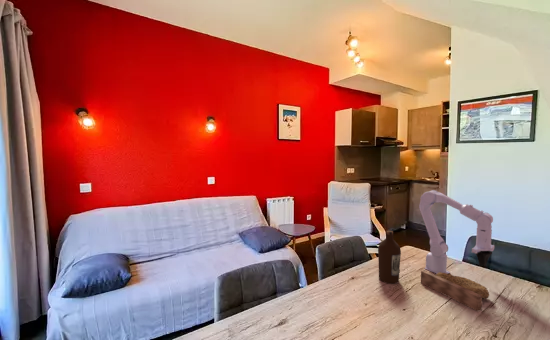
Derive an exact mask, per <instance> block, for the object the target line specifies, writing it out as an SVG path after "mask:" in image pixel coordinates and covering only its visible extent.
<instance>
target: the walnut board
mask: <svg viewBox="0 0 550 340" xmlns="http://www.w3.org/2000/svg"><path fill="white" fill-rule="evenodd" d="M420 284H422V285H424V286H427V287H428V288H430V289H432V290H434V291H436V292H438V293H441V294H442V295H445V296H446V297H449V298H450V299H453V300H454V301H457V302H459V303H461V304H462V305H465V306H466V307H469V308H471V309H472V310H475V311H477V312H480V311H482V307H483V298H482V295H479V294H477V293H475V292H473V291H470V290H468V289H466V288H464V287H461V286H459V285H457V284H454V283H452V282H450V281H448V280H445V279H443V278H441V277H439V276H436V275H435V273H434V274H433V272H431V271H428V270H426V269H424V270H421V271H420Z"/></svg>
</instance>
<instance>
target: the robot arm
mask: <svg viewBox="0 0 550 340" xmlns="http://www.w3.org/2000/svg"><path fill="white" fill-rule="evenodd" d="M419 199H420V201H419V205H418V208H419V210H420V211H419V212H420V214H421V216H422V220H423V222H424V225H425V226H424V227H425V228H426V231H427V235H428V237H429V245H430V246H429V247H430V249H429V250H430V252H428V253H426V256H425V267H424V270H426V271H428V272H430V273H434V274H438V273H439V272H442V273H446V274H451V271H448V270H447V269H448V268H447V267H448V265H447V263H448V255H447V252H448V251H449V246H448V244H447V243H446V242H445V240H444V238H443V237H442V236H441V234H440V231H439V228H438V225H437V222H436V220H435V217H434V214H433V212H432V209H431V208H432V207H433V206H434V204H435V203H436V204H437V203H443V204H446V205H447V206H449V207H452V208H454V209H456V210H458V211H459V213H460V214H461V215H462V216H464V217H466V218H468V219H469V220H471V221H474V222H475V223H476V225H477V226H476V238H475V239H476V240H475V245H474V247H472V248H471V253H472V254H475V256H476V257H477V260H478V264H479V266H482V267H486V265H487V264H488V260H489V259H490V256H492V255H493V252H494V250H495V244H492V231H493V230H492V223H494V217H493V216H492V215H491V214H490V213H488V212H485V211H483V210H479V209H477V208H476V207H474V206H473V204H468V203H467V204H462V203H460V202H458V201H457V200H455V199H453V198H451V197H450V196H447V195H446V194H444V193H442V192H440V191H438V190H435V189H432V190H429V191H425V192H423V193H422V194H421V196H420V198H419Z"/></svg>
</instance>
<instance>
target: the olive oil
mask: <svg viewBox="0 0 550 340" xmlns="http://www.w3.org/2000/svg"><path fill="white" fill-rule="evenodd" d="M377 253H378V255H377V256H378V259H377V260H378V261H377V262H378V279H379V280H380V281H381V282H383V283H386V284H389V285H390V284H398V283H399V280H400V274H401V273H400V272H401V270H400V267H401V257H402V256H401V255H402V251H401V247H400V245H399V244H398V243H397V242H396V240H394V231H393V230H386V233H385V239H384V240H382V241H381V242H380V243H379V244H378V247H377Z"/></svg>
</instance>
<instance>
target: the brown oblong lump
mask: <svg viewBox="0 0 550 340" xmlns="http://www.w3.org/2000/svg"><path fill="white" fill-rule="evenodd" d="M434 275H436V276H439V277H441V278H443V279H445V280H448V281H450V282H452V283H454V284H457V285H459V286H461V287H464V288H466V289H468V290H470V291H473V292H475V293H477V294H479V295H482V299H488V298H489V297H490V292H489V289H488V288H487V287H486V286H484V285H483V284H480V283H478V282H476V281H474V280H471V279H469V278H466V277H464V276H463V277H462V276H458V275H453V274H451V273H448V274H446V273H442V272H439V273H438V274H436V273H434Z"/></svg>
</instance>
